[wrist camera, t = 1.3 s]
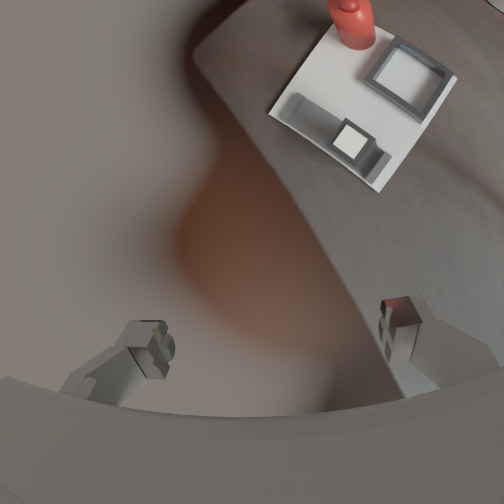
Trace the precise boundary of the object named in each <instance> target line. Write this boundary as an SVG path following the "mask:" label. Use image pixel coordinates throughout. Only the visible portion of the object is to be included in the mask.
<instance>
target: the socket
mask: <svg viewBox="0 0 504 504" xmlns="http://www.w3.org/2000/svg"><path fill="white" fill-rule="evenodd" d="M398 48H399V49H400V50H402V51H404V52H405V53H407V54H408V55H410V56H412V57H413V58H415V59H416V60H418V61H419V62H421V63H422V64H424V65H425V66H427V67H428V68H429V69H431V70H432V71H434V72H435V73H436V74H438V75H439V76H440V77H442V78H443V79H442V81H441V82H440V84H439V85H438V87H437V89H436V90H435V92H434V93H433V95H432V96H431V98H430V99H429V101H428V102H427V104H426V105H425V107H424V108H423V110H422V111H421V112H420V111H418V110H417V109H416V108H414V107H413V106H412V105H410V104H409V103H408V102H406V101H405V100H403V99H402V98H401V97H399V96H398V95H396V94H395V93H393V92H392V91H391V90H389V89H388V88H386V87H385V86H383V85H381V84H380V83H378V82H377V81H376V79H377V78H378V77H379V75H380V74H381V72H382V71H383V69H384V68H385V67H386V65H387V64H388V62H389V61H390V60H391V58H392V57H393V55H394V54H395V52H396V51H397V50H398ZM453 74H454V73H453V72H451V71H450V70H449V69H447V68H446V67H445V66H443V65H442V64H441V63H439V62H438V61H436V60H435V59H433V58H432V57H430V56H429V55H428V54H426V53H425V52H423V51H421V50H420V49H418V48H417V47H415V46H414V45H412V44H410V43H409V42H407V41H405V40H404V39H402V38H400V37H399V36H397V35H395V37H394V38H393V40H392V41H391V42H390V44H389V45H388V47H387V48H386V49H385V51H384V52H383V54H382V55H381V56H380V58H379V59H378V61H377V62H376V63H375V65H374V66H373V68H372V69H371V70H370V72H369V73H368V75H367V76H366V77H365V79H364V84H365V85H366V86H367V87H369V88H370V89H372V90H373V91H375V92H376V93H378V94H379V95H381V96H382V97H384V98H385V99H387V100H388V101H390V102H391V103H393V104H394V105H395V106H397V107H398V108H400V109H401V110H402V111H404V112H405V113H406V114H408V115H409V116H410V117H412V118H413V119H414V120H416V121H417V122H418V123H419V124H422V122H423V121H424V119H425V118H426V116H427V115H428V113H429V112H430V110H431V109H432V107H433V106H434V104H435V103H436V101H437V100H438V98H439V97H440V95H441V94H442V92H443V90H444V89H445V87H446V86H447V84H448V83H449V81H450V79H451V78H452V76H453Z"/></svg>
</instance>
